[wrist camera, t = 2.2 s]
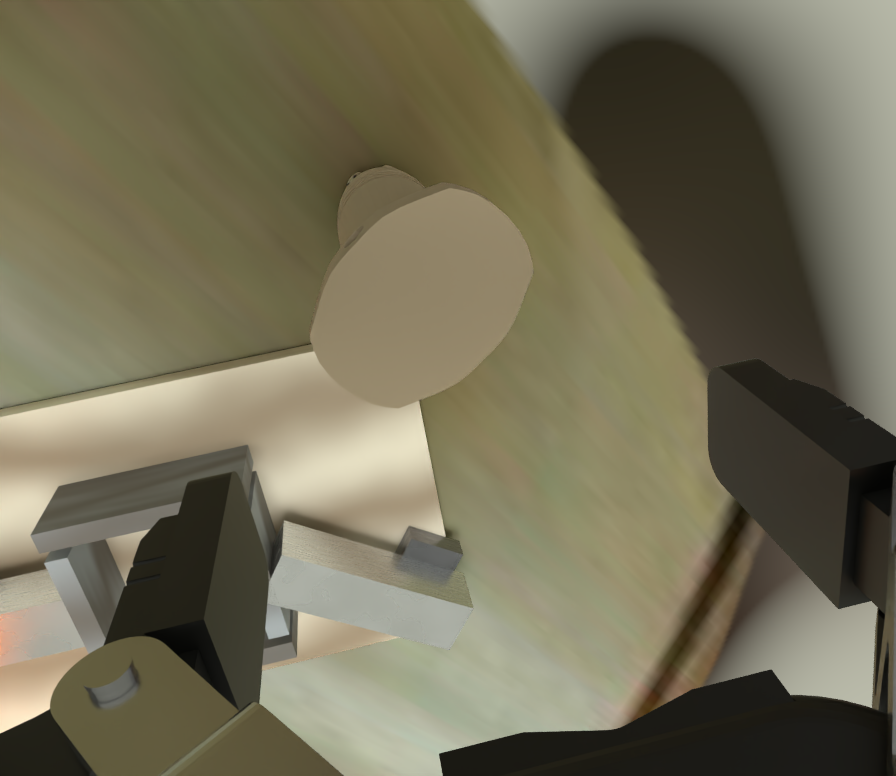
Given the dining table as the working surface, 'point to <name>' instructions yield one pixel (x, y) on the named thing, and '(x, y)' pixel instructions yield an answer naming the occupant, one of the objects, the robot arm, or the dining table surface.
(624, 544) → the dining table surface
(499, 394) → the dining table surface
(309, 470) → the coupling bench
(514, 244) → the handle
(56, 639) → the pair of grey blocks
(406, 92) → the dining table surface
